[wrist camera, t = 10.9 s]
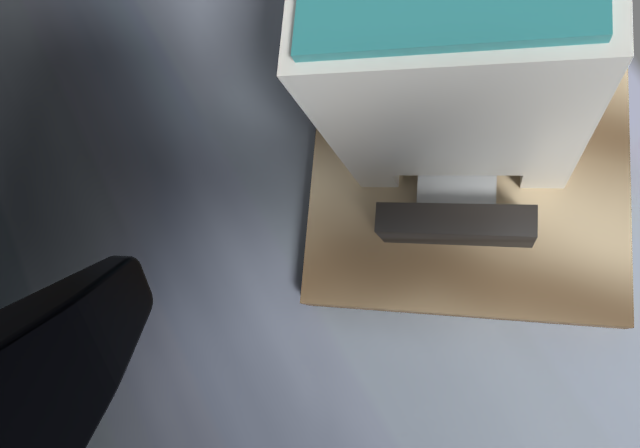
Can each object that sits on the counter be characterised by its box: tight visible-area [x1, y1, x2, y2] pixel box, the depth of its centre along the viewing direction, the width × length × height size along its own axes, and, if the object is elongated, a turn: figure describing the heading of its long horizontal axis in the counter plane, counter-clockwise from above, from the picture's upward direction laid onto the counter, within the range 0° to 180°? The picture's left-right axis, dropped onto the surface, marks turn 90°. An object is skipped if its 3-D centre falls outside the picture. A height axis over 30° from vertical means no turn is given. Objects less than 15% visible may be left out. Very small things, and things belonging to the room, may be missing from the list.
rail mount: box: [300, 68, 634, 329], centre depth 20 cm, size 14×11×3 cm
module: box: [277, 0, 634, 189], centre depth 16 cm, size 5×7×9 cm
